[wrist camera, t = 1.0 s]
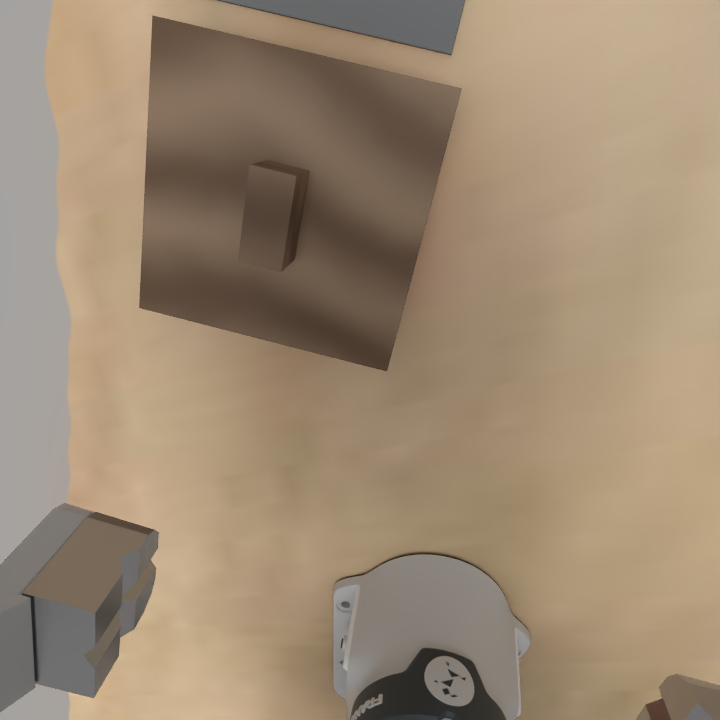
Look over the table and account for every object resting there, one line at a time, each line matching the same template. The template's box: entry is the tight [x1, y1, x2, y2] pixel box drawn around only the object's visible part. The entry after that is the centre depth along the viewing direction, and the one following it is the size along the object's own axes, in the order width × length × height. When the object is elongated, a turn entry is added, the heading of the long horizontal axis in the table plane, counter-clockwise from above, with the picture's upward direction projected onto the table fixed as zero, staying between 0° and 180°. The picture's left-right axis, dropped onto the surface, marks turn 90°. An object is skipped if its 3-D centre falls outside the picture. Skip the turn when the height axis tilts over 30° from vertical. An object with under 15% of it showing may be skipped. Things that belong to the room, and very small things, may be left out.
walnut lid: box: [139, 16, 461, 371], centre depth 30 cm, size 16×16×4 cm
